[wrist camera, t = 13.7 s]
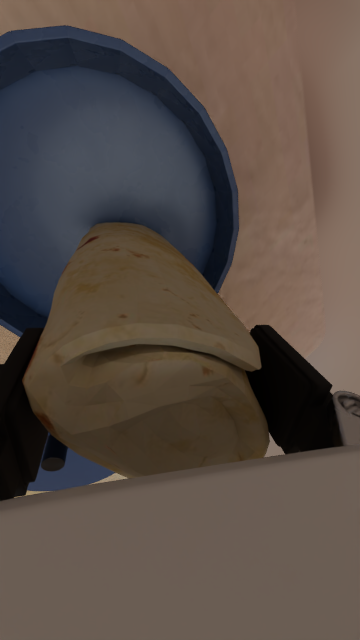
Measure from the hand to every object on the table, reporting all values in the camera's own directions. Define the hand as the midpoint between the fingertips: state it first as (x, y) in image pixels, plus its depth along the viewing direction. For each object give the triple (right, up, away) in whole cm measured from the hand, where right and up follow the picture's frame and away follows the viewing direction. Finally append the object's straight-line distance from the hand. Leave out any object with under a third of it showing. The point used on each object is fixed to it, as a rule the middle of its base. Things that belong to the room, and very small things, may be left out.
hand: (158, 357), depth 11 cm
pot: (-6, +10, +12) cm, 17 cm away
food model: (-3, +8, +14) cm, 16 cm away
